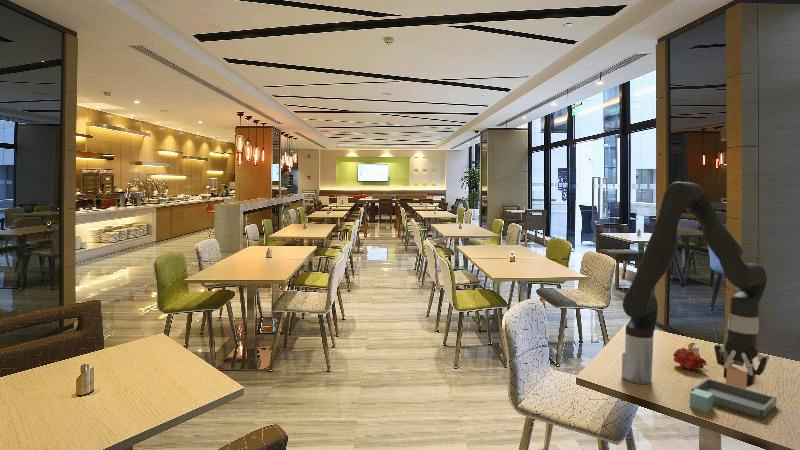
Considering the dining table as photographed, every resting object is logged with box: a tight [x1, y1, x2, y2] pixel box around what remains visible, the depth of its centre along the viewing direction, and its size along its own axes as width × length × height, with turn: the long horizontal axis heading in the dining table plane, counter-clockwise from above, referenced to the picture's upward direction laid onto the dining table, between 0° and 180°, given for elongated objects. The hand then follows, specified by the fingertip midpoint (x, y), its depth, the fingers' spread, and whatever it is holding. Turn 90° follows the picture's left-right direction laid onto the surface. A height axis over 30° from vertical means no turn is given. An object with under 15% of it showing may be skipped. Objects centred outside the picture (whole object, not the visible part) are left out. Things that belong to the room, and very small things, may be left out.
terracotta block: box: [725, 364, 749, 389], centre depth 146 cm, size 5×5×5 cm
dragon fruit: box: [673, 347, 708, 372], centre depth 187 cm, size 8×8×12 cm
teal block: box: [689, 388, 714, 414], centre depth 155 cm, size 5×5×5 cm
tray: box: [690, 377, 777, 421], centre depth 159 cm, size 20×14×3 cm
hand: (738, 382), depth 146 cm, fingers closed on terracotta block, 5 cm apart
